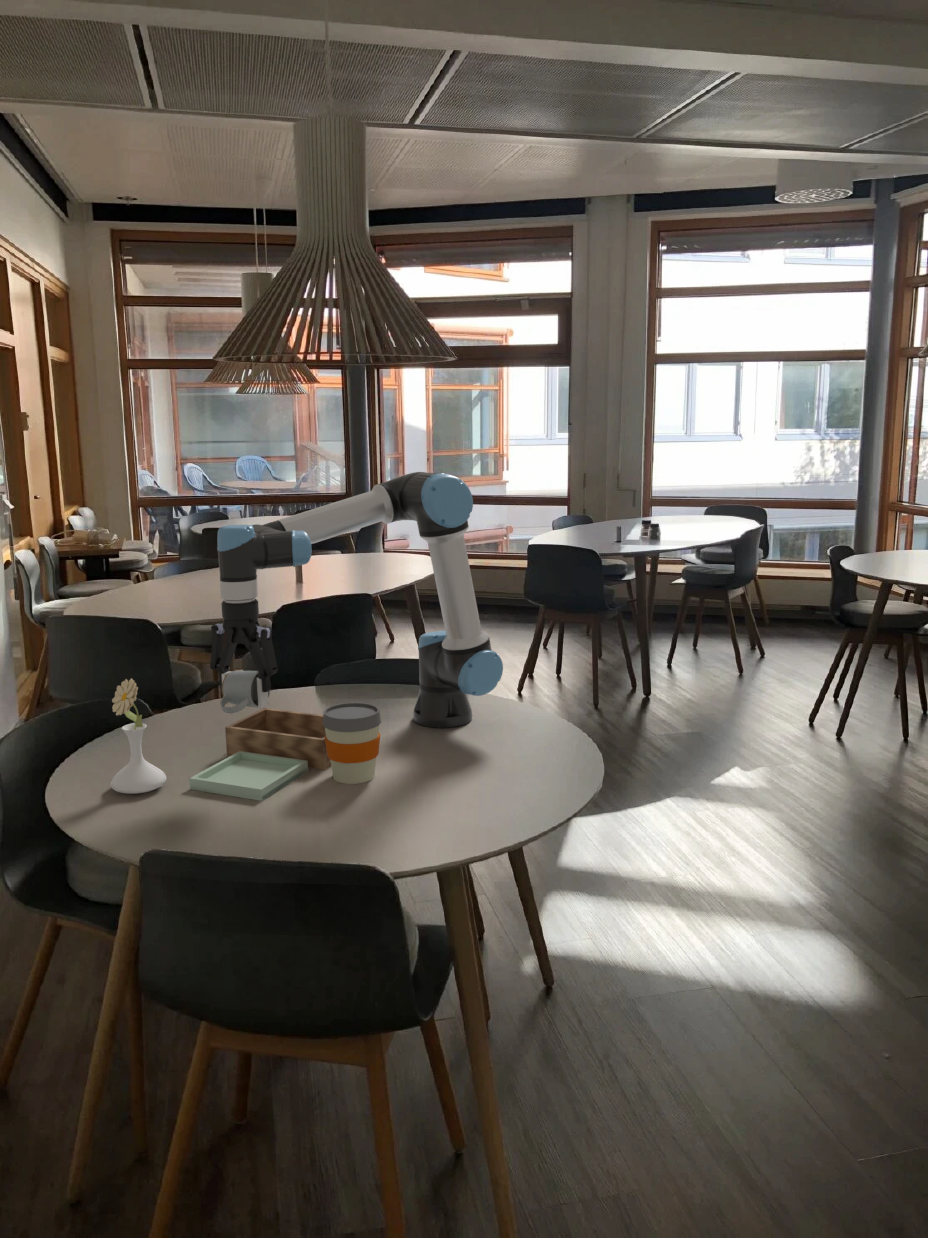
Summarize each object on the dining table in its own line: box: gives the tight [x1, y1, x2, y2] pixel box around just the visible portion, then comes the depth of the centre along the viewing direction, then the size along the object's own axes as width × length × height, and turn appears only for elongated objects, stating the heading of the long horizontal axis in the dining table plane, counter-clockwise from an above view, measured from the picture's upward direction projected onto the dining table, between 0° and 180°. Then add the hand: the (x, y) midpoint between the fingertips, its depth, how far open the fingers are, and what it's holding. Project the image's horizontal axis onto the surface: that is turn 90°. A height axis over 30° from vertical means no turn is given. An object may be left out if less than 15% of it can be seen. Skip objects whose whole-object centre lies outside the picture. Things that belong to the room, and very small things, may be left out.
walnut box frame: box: [224, 707, 332, 771], centre depth 229 cm, size 26×16×7 cm, turn 68°
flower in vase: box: [110, 678, 168, 795], centre depth 205 cm, size 13×11×25 cm
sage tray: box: [189, 751, 309, 802], centre depth 212 cm, size 18×18×2 cm
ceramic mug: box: [219, 670, 271, 714], centre depth 207 cm, size 11×8×8 cm
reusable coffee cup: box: [322, 702, 382, 785], centre depth 213 cm, size 13×13×15 cm
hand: (245, 704), depth 209 cm, fingers closed on ceramic mug, 8 cm apart
